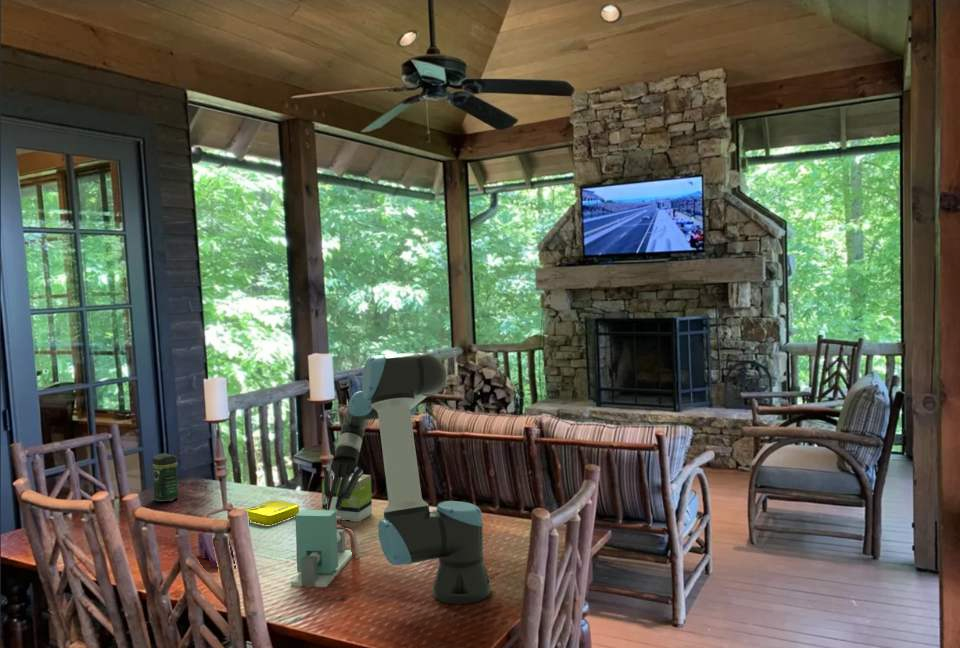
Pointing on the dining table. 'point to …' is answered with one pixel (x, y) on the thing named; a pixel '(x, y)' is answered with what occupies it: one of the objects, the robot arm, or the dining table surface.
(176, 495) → the coffee jar
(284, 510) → the element tile
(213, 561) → the mounting bracket
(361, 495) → the tea box
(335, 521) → the sleeve
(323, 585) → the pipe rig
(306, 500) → the dining table surface
